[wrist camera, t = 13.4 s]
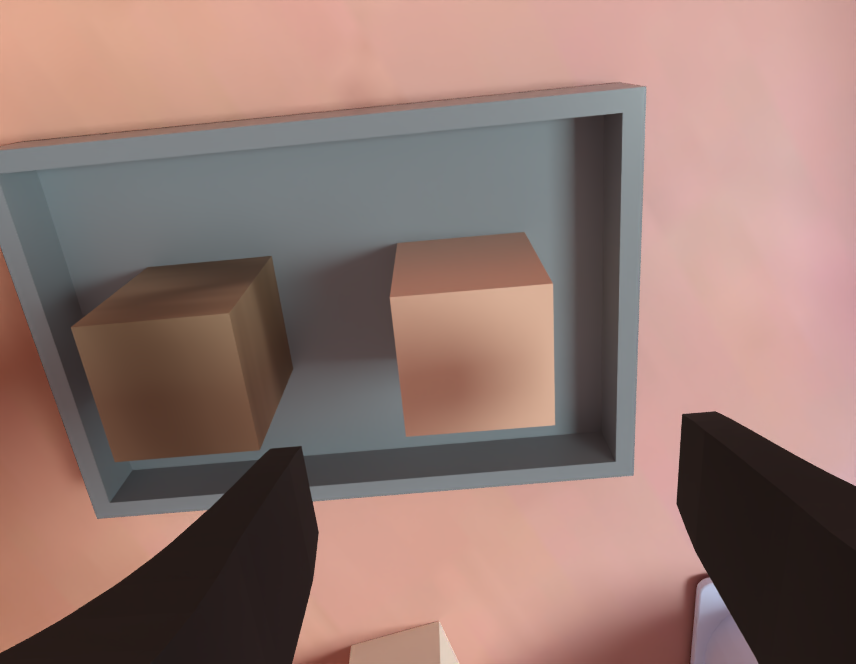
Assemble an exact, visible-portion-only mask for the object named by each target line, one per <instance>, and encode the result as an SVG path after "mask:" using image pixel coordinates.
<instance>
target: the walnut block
mask: <svg viewBox="0 0 856 664" xmlns="http://www.w3.org/2000/svg"><path fill="white" fill-rule="evenodd" d="M71 330H72V333H73V336H74V339H75V342H76V345H77V348H78V351H79V354H80V357H81V360H82V363H83V367H84V370H85V373H86V376H87V379H88V382H89V385H90V388H91V391H92V394H93V397H94V400H95V403H96V406H97V409H98V412H99V415H100V418H101V421H102V424H103V428H104V431H105V434H106V437H107V440H108V443H109V446H110V449H111V452H112V455H113V458H114V461H115V462H124V461H136V460H149V459H161V458H173V457H185V456H197V455H209V454H221V453H234V452H246V451H258V450H260V449H261V446H262V444H263V441H264V439H265V436H266V434H267V432H268V429H269V427H270V424H271V422H272V419H273V417H274V415H275V412H276V410H277V407H278V405H279V402H280V400H281V398H282V395H283V393H284V390H285V388H286V385H287V383H288V380H289V378H290V376H291V373H292V371H293V365H292V360H291V354H290V349H289V344H288V339H287V333H286V328H285V323H284V318H283V312H282V307H281V302H280V297H279V291H278V286H277V281H276V276H275V271H274V265H273V260H272V256H264V257H254V258H243V259H232V260H221V261H210V262H199V263H188V264H177V265H166V266H155V267H147V268H146V269H145V270H143V271H142V272H141V273H140V274H138V275H137V276H136V277H134V278H133V279H132V280H131V281H129V282H128V283H127V284H125V285H124V286H123V287H122V288H120V289H119V290H118V291H117V292H115V293H114V294H113V295H111V296H110V297H109V298H108V299H106V300H105V301H104V302H102V303H101V304H100V305H99V306H97V307H96V308H95V309H94V310H92V311H91V312H90V313H88V314H87V315H86V316H85V317H83V318H82V319H81V320H80V321H78V322H77V323H76V324H74V325H73V326H72V327H71Z"/></svg>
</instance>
